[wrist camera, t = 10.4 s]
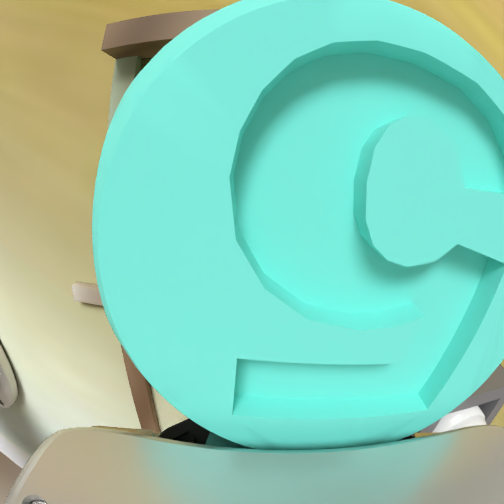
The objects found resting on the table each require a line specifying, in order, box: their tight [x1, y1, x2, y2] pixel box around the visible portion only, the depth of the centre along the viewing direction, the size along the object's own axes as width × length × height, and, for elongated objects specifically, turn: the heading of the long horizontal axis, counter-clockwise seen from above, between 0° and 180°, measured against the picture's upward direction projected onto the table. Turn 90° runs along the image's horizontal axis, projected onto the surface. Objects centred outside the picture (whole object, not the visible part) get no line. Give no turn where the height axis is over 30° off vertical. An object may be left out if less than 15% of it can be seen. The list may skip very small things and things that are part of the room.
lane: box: [72, 9, 220, 433], centre depth 12 cm, size 20×24×2 cm
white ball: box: [432, 406, 486, 433], centre depth 11 cm, size 4×4×4 cm
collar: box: [411, 364, 504, 436], centre depth 13 cm, size 7×7×3 cm
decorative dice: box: [92, 0, 504, 450], centre depth 7 cm, size 8×8×8 cm
